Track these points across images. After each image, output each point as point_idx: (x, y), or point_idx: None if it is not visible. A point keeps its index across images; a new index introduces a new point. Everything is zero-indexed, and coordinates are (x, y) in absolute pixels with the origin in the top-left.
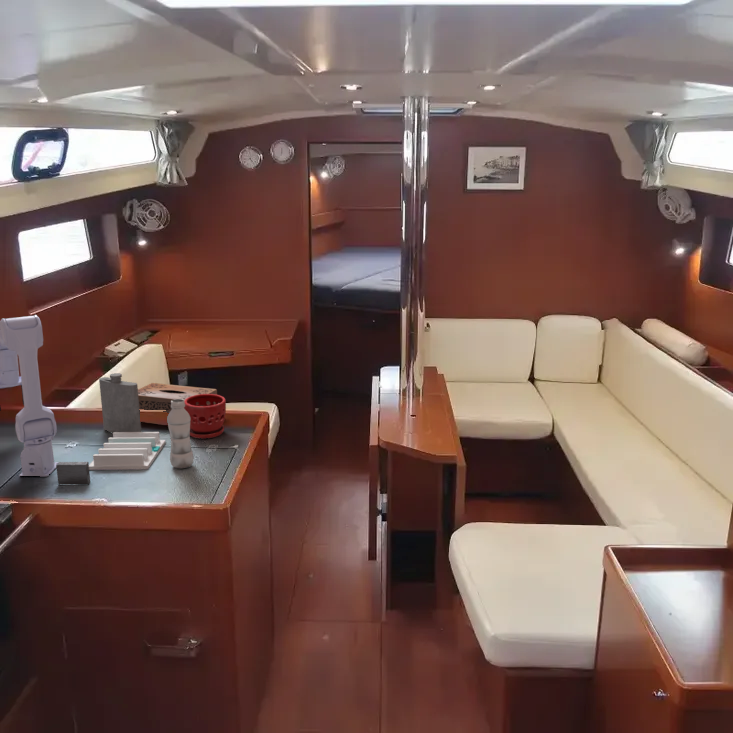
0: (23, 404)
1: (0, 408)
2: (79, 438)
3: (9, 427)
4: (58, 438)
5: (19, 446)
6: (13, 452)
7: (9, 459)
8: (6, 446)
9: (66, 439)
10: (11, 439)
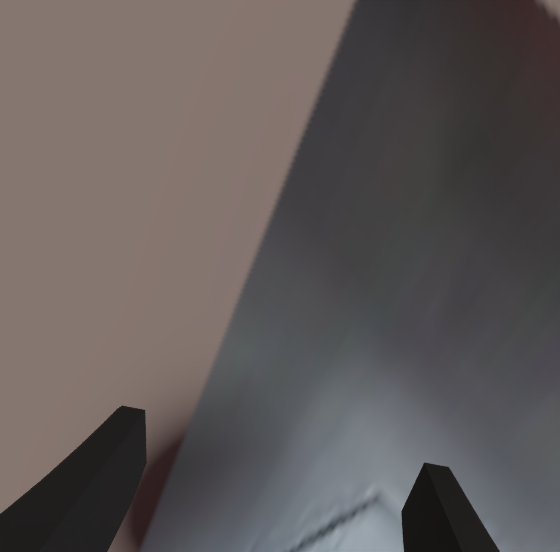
0: (417, 483)
1: (127, 502)
2: (532, 538)
3: (375, 10)
4: (463, 467)
5: (258, 426)
6: (203, 476)
7: (160, 533)
8: (207, 379)
9: (480, 506)
10: (271, 292)
